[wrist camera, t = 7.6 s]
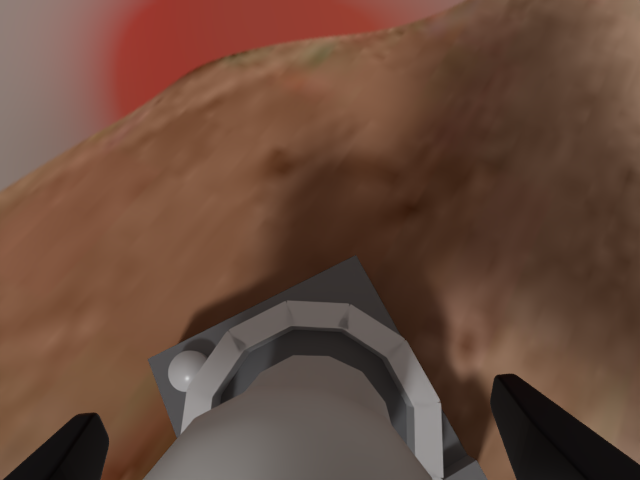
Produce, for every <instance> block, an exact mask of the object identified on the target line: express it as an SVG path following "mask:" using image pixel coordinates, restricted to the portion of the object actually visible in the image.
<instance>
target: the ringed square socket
mask: <svg viewBox="0 0 640 480" xmlns="http://www.w3.org/2000/svg"><path fill="white" fill-rule="evenodd" d="M404 340H405V338H403V337H402V336H401V335H400V333H399V331H398V330H397V328H396V326H395V324H394V322H393V321H392V319H391V317H390V315H389V313H388V312H387V310H386V308H385V306H384V304H383V303H382V301H381V299H380V297H379V296H378V294H377V292H376V290H375V288H374V287H373V285H372V283H371V281H370V279H369V278H368V276H367V274H366V272H365V270H364V269H363V267H362V265H361V263H360V261H359V260H358V258H357V256H356V255H355V256H353V257H351V258H349V259H347V260H345V261H343V262H341V263H339V264H337V265H335V266H333V267H331V268H329V269H327V270H325V271H323V272H321V273H319V274H317V275H315V276H313V277H311V278H309V279H307V280H305V281H303V282H301V283H299V284H297V285H295V286H293V287H291V288H289V289H287V290H285V291H283V292H281V293H279V294H277V295H275V296H273V297H271V298H269V299H267V300H265V301H263V302H261V303H259V304H257V305H255V306H253V307H251V308H249V309H247V310H245V311H243V312H241V313H239V314H237V315H235V316H233V317H231V318H229V319H227V320H225V321H223V322H221V323H219V324H217V325H215V326H213V327H211V328H209V329H207V330H205V331H203V332H201V333H199V334H197V335H195V336H193V337H191V338H189V339H187V340H185V341H183V342H181V343H179V344H177V345H175V346H173V347H171V348H169V349H167V350H165V351H163V352H161V353H159V354H157V355H155V356H153V357H151V358H149V359H148V361H149V364H150V366H151V369H152V372H153V374H154V377H155V380H156V383H157V385H158V388H159V391H160V393H161V396H162V399H163V401H164V404H165V407H166V410H167V412H168V415H169V418H170V420H171V423H172V426H173V428H174V431H175V434H176V437H177V438H178V437H179V436H180V435H181V433H182V432H183V431H184V430H185V429H186V428H187V426H188V425H189V424H190V423H191V422H192V420H193V419H194V418H195V417H197V416H199V415H201V414H203V413H205V412H207V411H209V410H211V409H213V408H215V407H217V406H219V405H220V404H222V403H224V402H226V401H228V400H230V399H232V398H234V397H236V396H238V395H240V394H242V393H244V392H245V391H246V389H247V388H248V387H249V386H250V385H251V383H252V382H253V381H254V380H255V379H256V377H257V376H258V375H259V374H260V372H262V371H264V370H266V369H268V368H270V367H272V366H274V365H276V364H278V363H279V362H281V361H283V360H285V359H287V358H289V357H291V356H293V355H304V356H330V357H332V358H334V359H336V360H338V361H341V362H343V363H345V364H347V365H349V366H351V367H353V368H356V369H358V370H360V371H362V372H363V374H364V375H365V376H366V378H367V379H368V380H369V382H370V383H371V384H372V385H373V387H374V388H375V389H376V391H377V392H378V393H379V395H380V396H381V397H382V399H383V400H384V401H385V403H386V406H387V410H388V414H389V417H390V421H391V425H392V426H393V428H394V429H395V430H396V431H397V433H398V434H399V435H400V437H401V438H402V439H403V441H404V442H405V443H406V445H407V446H408V447H409V448H410V450H411V451H412V452H413V454H414V455H415V456H416V458H417V459H418V460H419V461H420V463H421V464H422V465H423V467H424V468H425V469H426V471H427V472H428V473H429V475H430V476H431V477H432V479H433V480H487V478H486V476H485V474H484V473H483V471H482V469H481V467H480V466H479V464H478V462H477V460H475V459H474V458H472V457H470V456H468V455H467V453H466V452H465V450H464V448H463V446H462V444H461V443H460V441H459V439H458V437H457V435H456V434H455V432H454V430H453V428H452V426H451V425H450V423H449V421H448V419H447V417H446V416H445V414H444V412H443V410H442V408H441V403H440V402H439V401H440V399H439V397H438V396H437V394H436V392H435V390H434V389H433V387H432V385H431V383H430V381H429V380H428V378H427V376H426V374H425V372H424V371H423V369H422V367H421V365H420V364H419V362H418V360H417V358H416V356H415V355H414V353H413V351H412V349H411V347H410V346H409V344H408V342H407V340H405V341H404Z"/></svg>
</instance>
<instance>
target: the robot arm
mask: <svg viewBox="0 0 640 480" xmlns="http://www.w3.org/2000/svg"><path fill="white" fill-rule="evenodd" d="M490 404H491V409H492V413H493V415H494V418H495V421H496V424H497V427H498V429H499V432H500V435H501V438H502V441H503V444H504V446H505V449H506V452H507V455H508V458H509V460H510V463H511V466H512V469H513V471H514V474H515V476H516V479H517V480H640V465H639V464H638V463H637V462H635V461H634V460H632V459H631V458H630V457H628V456H627V455H626V454H624V453H623V452H621V451H620V450H619V449H617V448H616V447H615V446H613V445H612V444H610V443H609V442H608V441H606V440H605V439H604V438H602V437H601V436H599V435H598V434H597V433H595V432H594V431H593V430H591V429H590V428H588V427H587V426H586V425H584V424H583V423H582V422H580V421H579V420H577V419H576V418H575V417H573V416H572V415H571V414H569V413H568V412H566V411H565V410H564V409H562V408H561V407H560V406H558V405H557V404H555V403H554V402H553V401H551V400H550V399H549V398H547V397H546V396H544V395H543V394H542V393H540V392H539V391H538V390H536V389H535V388H533V387H532V386H531V385H529V384H528V383H527V382H525V381H524V380H523V379H521V378H520V377H518V376H517V375H515V374H501V375H496V376H495V378H494V382H493V388H492V393H491V399H490ZM108 447H109V437H108V434H107V432H106V430H105V427H104V425H103V423H102V421H101V419H100V416H99V415H98V414H97V413H94V412H93V413H83V414H78V415H76V416H74V417H73V418H72V419H71V420H70V421H68V422H67V423H66V424H65V425H64V426H63V427H62V428H61V429H59V430H58V431H57V432H56V433H55V434H54V435H53V436H51V437H50V438H49V439H48V440H47V441H46V442H45V443H44V444H42V445H41V446H40V447H39V448H38V449H37V450H36V451H35V452H33V453H32V454H31V455H30V456H29V457H28V458H27V459H26V460H24V461H23V462H22V463H21V464H20V465H19V466H18V467H17V468H15V469H14V470H13V471H12V472H11V473H10V474H9V475H8V476H6V477H5V478H4V479H3V480H100V479H101V475H102V471H103V467H104V463H105V459H106V455H107V451H108Z"/></svg>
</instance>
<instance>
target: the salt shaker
mask: <svg viewBox="0 0 640 480" xmlns="http://www.w3.org/2000/svg"><path fill="white" fill-rule="evenodd" d="M143 480H433V479H432V477H431V476H430V475H429V473H428V472H427V471H426V469H425V468H424V467H423V465H422V464H421V463H420V461H419V460H418V459H417V458H416V456H415V455H414V454H413V452H412V451H411V450H410V448H409V447H408V446H407V445H406V443H405V442H404V441H403V439H402V438H401V437H400V435H399V434H398V433H397V431H396V430H395V429H394V428H393V426H392V425H391V421H390V417H389V414H388V410H387V406H386V403H385V401H384V400H383V399H382V397H381V396H380V395H379V393H378V392H377V391H376V389H375V388H374V387H373V385H372V384H371V383H370V382H369V380H368V379H367V378H366V376H365V375H364V374H363V372H362V371H360V370H358V369H356V368H353V367H351V366H349V365H347V364H345V363H343V362H341V361H338V360H336V359H334V358H332V357H330V356H304V355H293V356H291V357H289V358H287V359H285V360H283V361H281V362H279V363H278V364H276V365H274V366H272V367H270V368H268V369H266V370H264V371H262V372H260V374H259V375H258V376H257V377H256V379H255V380H254V381H253V382H252V383H251V385H250V386H249V387H248V388H247V389H246V391H245V392H244V393H242V394H240V395H238V396H236V397H234V398H232V399H230V400H228V401H226V402H224V403H222V404H220V405H219V406H217V407H215V408H213V409H211V410H209V411H207V412H205V413H203V414H201V415H199V416H197V417H195V418H194V419H193V420H192V422H191V423H190V424H189V425H188V426H187V428H186V429H185V430H184V431H183V432H182V433H181V435H180V436H179V437H178V438H177V439H176V441H175V442H174V443H173V444H172V445H171V447H170V448H169V449H168V450H167V451H166V453H165V454H164V455H163V456H162V457H161V459H160V460H159V461H158V462H157V463H156V465H155V466H154V467H153V468H152V469H151V471H150V472H149V473H148V474H147V475H146V477H145V478H144V479H143Z"/></svg>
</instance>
